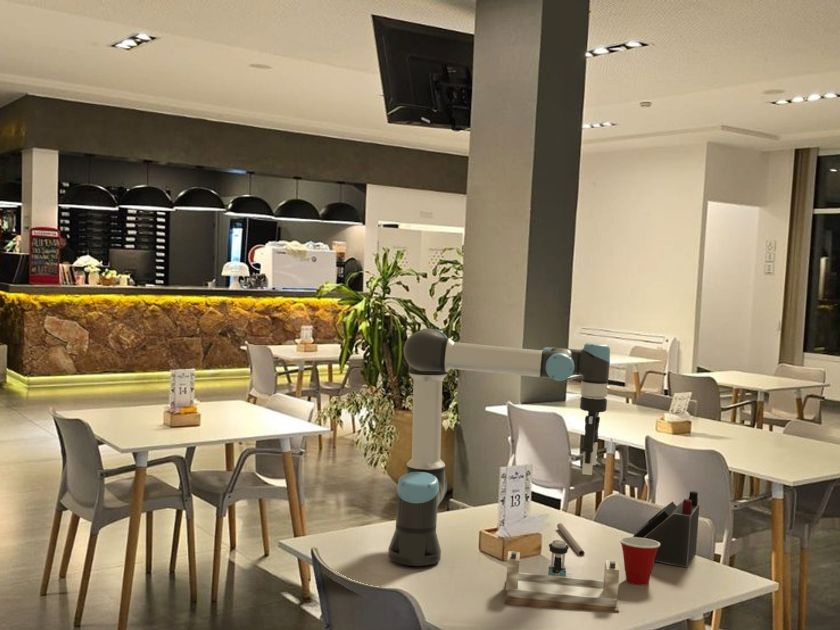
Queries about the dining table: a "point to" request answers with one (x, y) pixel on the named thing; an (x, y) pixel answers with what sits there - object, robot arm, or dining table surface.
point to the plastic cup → (638, 558)
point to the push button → (558, 558)
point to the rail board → (561, 589)
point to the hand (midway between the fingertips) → (589, 469)
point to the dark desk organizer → (674, 531)
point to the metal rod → (570, 539)
